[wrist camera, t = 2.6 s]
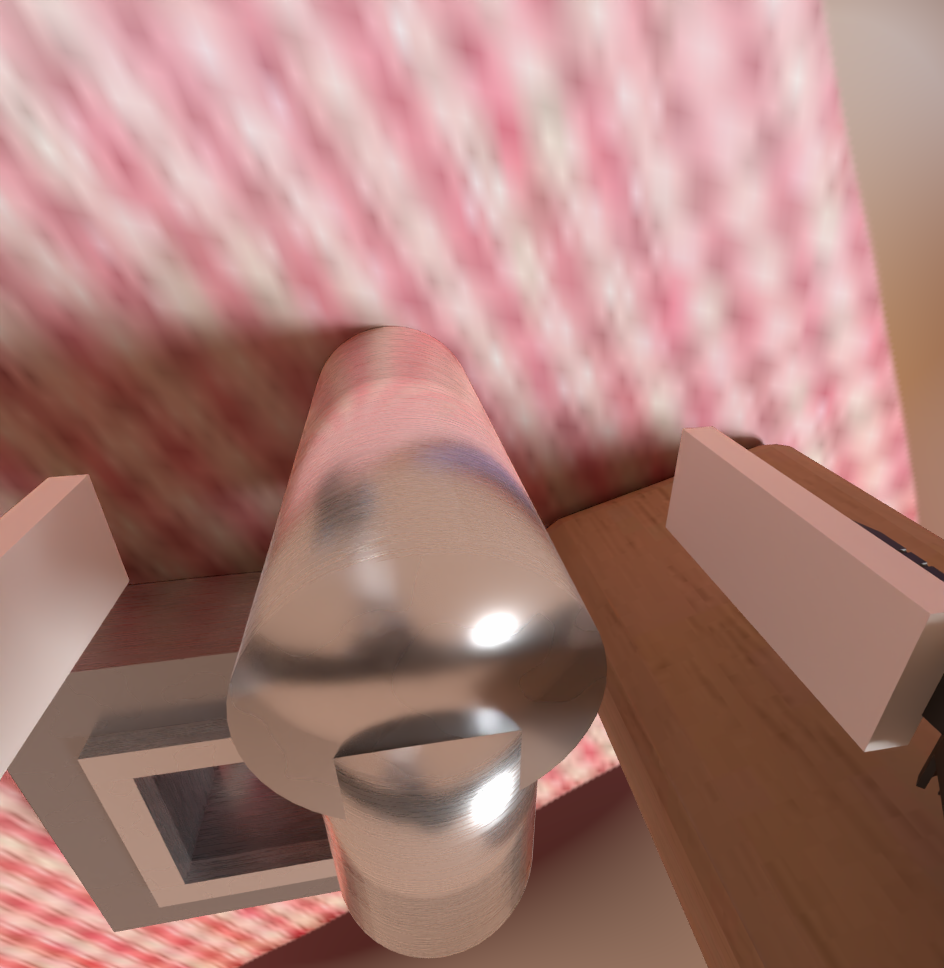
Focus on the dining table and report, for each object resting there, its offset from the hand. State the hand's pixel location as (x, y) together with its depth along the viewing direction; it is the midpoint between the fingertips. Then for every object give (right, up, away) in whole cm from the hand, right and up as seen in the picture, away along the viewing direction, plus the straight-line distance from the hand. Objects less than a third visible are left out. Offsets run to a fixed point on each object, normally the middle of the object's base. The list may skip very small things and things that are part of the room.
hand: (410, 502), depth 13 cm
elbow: (-1, +2, +6) cm, 6 cm away
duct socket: (-7, -9, +11) cm, 15 cm away
